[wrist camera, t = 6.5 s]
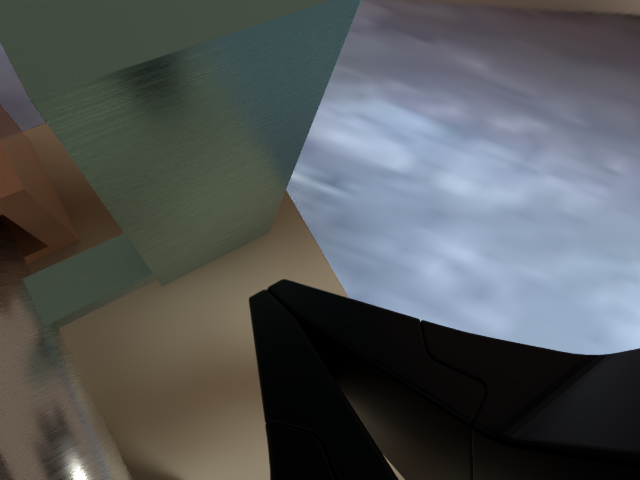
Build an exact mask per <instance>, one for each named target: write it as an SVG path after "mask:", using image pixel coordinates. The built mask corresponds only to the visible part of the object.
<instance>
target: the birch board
mask: <svg viewBox="0 0 640 480" xmlns="http://www.w3.org/2000/svg"><path fill="white" fill-rule="evenodd" d="M23 132H24V134H25V135H26V136H27V137H28V139H29V141H30V143H31V145H32V147H33V149H34V150H35V152H36V154H37V156H38V158H39V160H40V162H41V164H42V166H43V168H44V170H45V172H46V174H47V176H48V178H49V180H50V182H51V184H52V186H53V188H54V190H55V192H56V194H57V196H58V198H59V200H60V202H61V204H62V206H63V208H64V210H65V211H66V213H67V215H68V217H69V219H70V221H71V223H72V225H73V227H74V229H75V231H76V233H77V235H78V237H79V239H80V240H79V241H77V242H75V243H73V244H70V245H68V246H66V247H64V248H61V249H59V250H57V251H55V252H52V253H50V254H48V255H45V256H43V257H41V258H39V259H36V260H34V261H32V262H30V263H27V264H28V266H29V268H30V270H31V272H32V274H34V273H36V272H39V271H41V270H43V269H45V268H48V267H50V266H52V265H54V264H56V263H59V262H61V261H63V260H65V259H68V258H70V257H72V256H74V255H76V254H79V253H81V252H83V251H85V250H88V249H90V248H92V247H94V246H96V245H99V244H101V243H103V242H105V241H108V240H110V239H112V238H114V237H116V236H119V235H121V234H123V233H124V232H123V231H122V229H121V228H120V226H119V225H118V224H117V222H116V221H115V219H114V218H113V216H112V215H111V214H110V212H109V211H108V209H107V208H106V207H105V205H104V204H103V202H102V201H101V199H100V198H99V197H98V195H97V194H96V192H95V191H94V190H93V188H92V187H91V185H90V184H89V182H88V181H87V180H86V178H85V177H84V175H83V174H82V173H81V171H80V170H79V168H78V167H77V165H76V164H75V163H74V161H73V160H72V158H71V157H70V156H69V154H68V153H67V151H66V150H65V148H64V147H63V146H62V144H61V143H60V141H59V140H58V139H57V137H56V136H55V134H54V133H53V131H52V130H51V129H50V127H49V126H48V124H47V123H45V124H42V125H39V126H37V127H34V128H31V129H28V130H25V131H23ZM282 279H287V280H290V281H294V282H297V283H300V284H304V285H307V286H310V287H314V288H317V289H320V290H324V291H327V292H330V293H334V294H337V295H340V296H344V297H347V298H349V297H348V296H347V294H346V292H345V290H344V289H343V287H342V285H341V284H340V282H339V280H338V278H337V277H336V275H335V273H334V272H333V270H332V268H331V266H330V265H329V263H328V261H327V260H326V258H325V256H324V254H323V253H322V251H321V249H320V248H319V246H318V244H317V242H316V241H315V239H314V237H313V236H312V234H311V232H310V230H309V229H308V227H307V225H306V224H305V222H304V220H303V218H302V217H301V215H300V213H299V212H298V210H297V208H296V206H295V205H294V203H293V201H292V200H291V198H290V196H289V194H288V193H287V191H285V193H284V196H283V198H282V201H281V203H280V206H279V208H278V211H277V213H276V216H275V218H274V221H273V223H272V226H271V228H270V231H269V233H268V234H266V235H264V236H262V237H260V238H258V239H256V240H254V241H252V242H250V243H248V244H246V245H244V246H242V247H240V248H238V249H236V250H234V251H232V252H230V253H228V254H226V255H224V256H222V257H220V258H218V259H216V260H214V261H212V262H210V263H208V264H206V265H204V266H202V267H200V268H198V269H196V270H194V271H192V272H190V273H188V274H186V275H184V276H182V277H180V278H178V279H176V280H174V281H172V282H170V283H168V284H166V285H164V286H161V284H160V283H159V282H158V280H155V281H153V282H151V283H149V284H147V285H145V286H143V287H141V288H139V289H137V290H135V291H133V292H131V293H129V294H127V295H125V296H123V297H121V298H119V299H117V300H115V301H113V302H111V303H109V304H107V305H105V306H103V307H101V308H99V309H97V310H95V311H93V312H91V313H89V314H87V315H85V316H83V317H81V318H79V319H76V320H74V321H72V322H70V323H68V324H66V325H64V326H62V327H60V328H59V330H60V332H61V334H62V336H63V338H64V340H65V342H66V344H67V346H68V348H69V350H70V352H71V354H72V356H73V358H74V360H75V363H76V365H77V367H78V369H79V371H80V373H81V375H82V377H83V379H84V381H85V383H86V385H87V387H88V389H89V391H90V393H91V395H92V397H93V399H94V401H95V404H96V406H97V408H98V410H99V412H100V414H101V416H102V418H103V420H104V422H105V424H106V426H107V428H108V430H109V432H110V434H111V436H112V438H113V440H114V442H115V445H116V447H117V449H118V451H119V453H120V455H121V457H122V459H123V461H124V463H125V465H126V467H127V469H128V471H129V473H130V475H131V477H132V479H133V480H270V465H269V455H268V444H267V436H266V429H265V424H266V423H265V419H264V412H263V404H262V397H261V389H260V382H259V374H258V367H257V359H256V352H255V345H254V337H253V330H252V322H251V315H250V307H249V298H250V297H251V296H252V295H254V294H256V293H258V292H260V291H261V290H264V289H265V290H267V289H268V287H269V286H270V285H272V284H274V283H276V282H278V281H280V280H282ZM384 457H385V456H384ZM385 459H386V457H385ZM386 460H387V459H386ZM387 462H388V463H389V465H390V466H391V468H392V470H393V471H394V473H395V474H396V476H397V477H398V479H399V480H405V479H404V478H403V477H402V476H401V475H400V473H399V472H398V471H397V470H396V469H395V468H394V467H393V465H392V464H391V463H390V462H389V461H388V460H387ZM0 480H1V479H0Z"/></svg>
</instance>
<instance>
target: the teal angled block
mask: <svg viewBox="0 0 640 480" xmlns="http://www.w3.org/2000/svg"><path fill="white" fill-rule="evenodd" d="M360 2H361V0H0V42H1V44H2V46H3V48H4V50H5V52H6V54H7V56H8V58H9V60H10V62H11V64H12V66H13V68H14V69H15V71H16V73H17V75H18V77H19V79H20V81H21V83H22V85H23V87H24V89H25V91H26V93H27V95H28V97H29V99H30V100H31V102H32V103H33V105H34V106H35V107H36V109H37V110H38V112H39V113H40V114H41V116H42V117H43V119H44V120H45V122H46V123H47V124H48V126H49V127H50V129H51V130H52V131H53V133H54V134H55V136H56V137H57V139H58V140H59V141H60V143H61V144H62V146H63V147H64V148H65V150H66V151H67V153H68V154H69V156H70V157H71V158H72V160H73V161H74V163H75V164H76V165H77V167H78V168H79V170H80V171H81V173H82V174H83V175H84V177H85V178H86V180H87V181H88V182H89V184H90V185H91V187H92V188H93V190H94V191H95V192H96V194H97V195H98V197H99V198H100V199H101V201H102V202H103V204H104V205H105V207H106V208H107V209H108V211H109V212H110V214H111V215H112V216H113V218H114V219H115V221H116V222H117V224H118V225H119V226H120V228H121V229H122V231H123V232H124V233H123V234H121V235H119V236H116V237H114V238H112V239H110V240H108V241H105V242H103V243H101V244H99V245H96V246H94V247H92V248H90V249H88V250H85V251H83V252H81V253H79V254H76V255H74V256H72V257H70V258H68V259H65V260H63V261H61V262H59V263H56V264H54V265H52V266H50V267H48V268H45V269H43V270H41V271H39V272H36V273H34V274H32V272H31V270H30V268H29V266H28V264H27V262H26V260H25V258H24V256H23V254H22V252H21V250H20V248H19V246H18V244H17V242H16V240H15V237H14V235H13V233H12V231H11V229H10V227H9V225H8V223H7V221H6V219H5V217H4V215H0V479H1V480H133V479H132V477H131V475H130V473H129V471H128V469H127V467H126V465H125V463H124V461H123V459H122V457H121V455H120V453H119V451H118V449H117V447H116V445H115V442H114V440H113V438H112V436H111V434H110V432H109V430H108V428H107V426H106V424H105V422H104V420H103V418H102V416H101V414H100V412H99V410H98V408H97V406H96V404H95V401H94V399H93V397H92V395H91V393H90V391H89V389H88V387H87V385H86V383H85V381H84V379H83V377H82V375H81V373H80V371H79V369H78V367H77V365H76V363H75V360H74V358H73V356H72V354H71V352H70V350H69V348H68V346H67V344H66V342H65V340H64V338H63V336H62V334H61V332H60V330H59V328H60V327H62V326H64V325H66V324H68V323H70V322H72V321H74V320H76V319H79V318H81V317H83V316H85V315H87V314H89V313H91V312H93V311H95V310H97V309H99V308H101V307H103V306H105V305H107V304H109V303H111V302H113V301H115V300H117V299H119V298H121V297H123V296H125V295H127V294H129V293H131V292H133V291H135V290H137V289H139V288H141V287H143V286H145V285H147V284H149V283H151V282H153V281H155V280H158V282H159V283H160V284H161V286H164V285H166V284H168V283H170V282H172V281H174V280H176V279H178V278H180V277H182V276H184V275H186V274H188V273H190V272H192V271H194V270H196V269H198V268H200V267H202V266H204V265H206V264H208V263H210V262H212V261H214V260H216V259H218V258H220V257H222V256H224V255H226V254H228V253H230V252H232V251H234V250H236V249H238V248H240V247H242V246H244V245H246V244H248V243H250V242H252V241H254V240H256V239H258V238H260V237H262V236H264V235H266V234H268V233H269V231H270V228H271V226H272V223H273V221H274V218H275V216H276V213H277V211H278V208H279V206H280V203H281V201H282V198H283V196H284V193H285V191H286V188H287V186H288V183H289V181H290V178H291V175H292V173H293V170H294V168H295V165H296V163H297V160H298V158H299V155H300V153H301V150H302V148H303V145H304V143H305V140H306V138H307V135H308V133H309V130H310V128H311V125H312V123H313V120H314V118H315V115H316V112H317V110H318V107H319V105H320V102H321V100H322V97H323V95H324V92H325V90H326V87H327V85H328V82H329V80H330V77H331V75H332V72H333V70H334V67H335V65H336V62H337V60H338V57H339V55H340V52H341V49H342V47H343V44H344V42H345V39H346V37H347V34H348V32H349V29H350V27H351V24H352V22H353V19H354V17H355V14H356V12H357V9H358V7H359V4H360Z"/></svg>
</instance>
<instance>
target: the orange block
mask: <svg viewBox="0 0 640 480" xmlns="http://www.w3.org/2000/svg"><path fill="white" fill-rule="evenodd" d="M0 215H4V217H5V219H6V221H7V223H8V225H9V227H10V229H11V231H12V233H13V235H14V237H15V240H16V242H17V244H18V246H19V248H20V250H21V252H22V254H23V256H24V258H25V260H26V262H27V263H30V262H32V261H34V260H36V259H39V258H41V257H43V256H45V255H48V254H50V253H52V252H55V251H57V250H59V249H61V248H64V247H66V246H68V245H70V244H73V243H75V242H77V241H79V240H80V239H79V237H78V235H77V233H76V231H75V229H74V227H73V225H72V223H71V221H70V219H69V217H68V215H67V213H66V211H65V210H64V208H63V206H62V204H61V202H60V200H59V198H58V196H57V194H56V192H55V190H54V188H53V186H52V184H51V182H50V180H49V178H48V176H47V174H46V172H45V170H44V168H43V166H42V164H41V162H40V160H39V158H38V156H37V154H36V152H35V150H34V149H33V147H32V145H31V143H30V141H29V139H28V137H27V136H26V135H25V134H24V132H23V131H22V130H21V129H20V128H19V126H18V125H17V124H16V123H15V122H14V120H13V119H12V118H11V117H10V116H9V114H8V113H7V112H6V111H5V110H4V108H3V107H2V106H1V105H0Z"/></svg>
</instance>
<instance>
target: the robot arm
mask: <svg viewBox="0 0 640 480" xmlns="http://www.w3.org/2000/svg"><path fill="white" fill-rule="evenodd" d="M249 307H250V315H251V322H252V330H253V337H254V345H255V352H256V359H257V367H258V374H259V382H260V389H261V397H262V404H263V412H264V419H265V423H266V424H265V429H266V436H267V444H268V455H269V465H270V480H399V479H398V477H397V476H396V474H395V473H394V471H393V470H392V468H391V466H390V465H389V463H388V462H387V460H388V461H389V462H390V463H391V464H392V465H393V467H394V468H395V469H396V470H397V471H398V472H399V473H400V475H401V476H402V477H403V478H404V479H405V480H640V349H635V350H629V351H624V352H619V353H613V354H605V355H583V354H573V353H567V352H561V351H556V350H551V349H546V348H541V347H535V346H530V345H525V344H520V343H515V342H510V341H505V340H500V339H495V338H490V337H486V336H481V335H477V334H472V333H468V332H464V331H460V330H456V329H453V328H449V327H445V326H441V325H438V324H435V323H431V322H428V321H425V320H422V321H421V323H420V320H419V319H417V318H414V317H411V316H407V315H404V314H401V313H397V312H394V311H391V310H387V309H384V308H381V307H377V306H374V305H371V304H367V303H364V302H361V301H357V300H354V299H350V298H347V297H344V296H340V295H337V294H334V293H330V292H327V291H324V290H320V289H317V288H314V287H310V286H307V285H304V284H300V283H297V282H294V281H290V280H287V279H282V280H280V281H278V282H276V283H274V284H272V285H270V286H269V287H268V289H267V290H265V289H264V290H261V291H260V292H258V293H256V294H254V295H252V296H251V297H250V298H249ZM384 456H385V457H386V459H387V460H386V459H385V457H384Z"/></svg>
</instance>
